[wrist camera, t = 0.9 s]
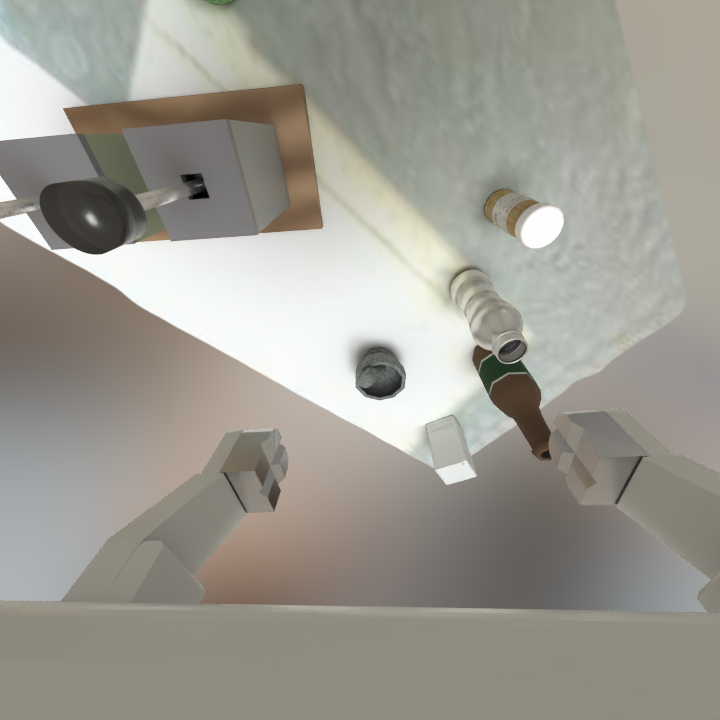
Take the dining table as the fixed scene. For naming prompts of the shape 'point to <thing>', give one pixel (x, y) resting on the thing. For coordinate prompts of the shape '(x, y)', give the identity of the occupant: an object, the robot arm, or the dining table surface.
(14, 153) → the olive slotted block
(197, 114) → the walnut board
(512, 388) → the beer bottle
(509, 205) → the sprinkles bottle
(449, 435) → the supplement box
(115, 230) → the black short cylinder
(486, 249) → the dining table surface
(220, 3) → the ramekin
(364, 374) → the mortar and pestle
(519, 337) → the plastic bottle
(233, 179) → the grey block
